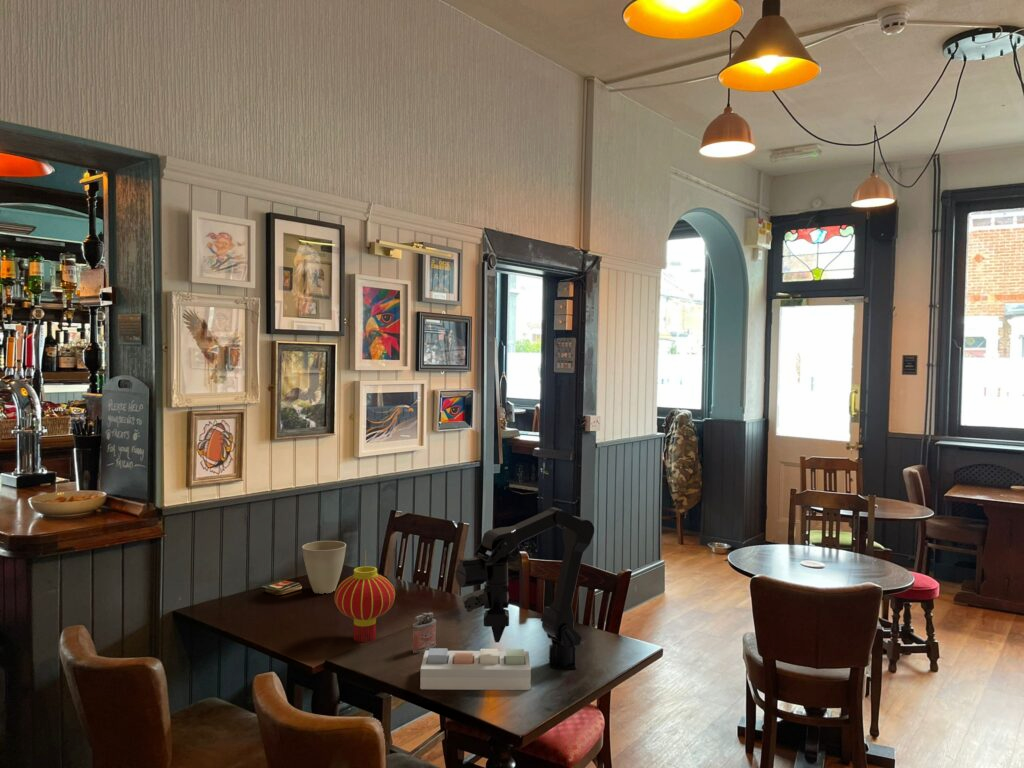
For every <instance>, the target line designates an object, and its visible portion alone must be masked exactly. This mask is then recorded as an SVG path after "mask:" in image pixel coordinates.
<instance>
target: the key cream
mask: <svg viewBox="0 0 1024 768" xmlns="http://www.w3.org/2000/svg"><path fill="white" fill-rule="evenodd" d="M479 651H480V664H498V651H499V648H480V650H479Z"/></svg>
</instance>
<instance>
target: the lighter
mask: <svg viewBox="0 0 1024 768" xmlns="http://www.w3.org/2000/svg"><path fill="white" fill-rule="evenodd" d="M433 617H434V613H433V612H428V613H427V612H423V613H422V614H420V615H417V616H415V618H414V619H415V620H414V622H416V623H413V624H412V629H413V630H412V634H413V635H412V636H413V637H412V638H413V639H412V649H411V650H412V651H413V652H414V653H420V654H422V653H421V652H423V653H425V650H429V649H430V648H434V647H435V648H436V647H437V643H436V638H437V637H436V627H437V625H436V624H437V619H435V618H433ZM414 653H413V654H414Z"/></svg>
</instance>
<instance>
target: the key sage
mask: <svg viewBox="0 0 1024 768" xmlns="http://www.w3.org/2000/svg"><path fill="white" fill-rule="evenodd" d="M505 651H506V665H524V651H525V648H506V649H505Z"/></svg>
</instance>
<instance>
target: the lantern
mask: <svg viewBox="0 0 1024 768" xmlns="http://www.w3.org/2000/svg"><path fill="white" fill-rule="evenodd" d="M364 554H365V556H364V557H365V559H364V561H365V565H364V566H358V567H355V568H354V569H353V573H352V575H350V576H348V577H346V578H345V579H344V580H342V581H341V583H340V584H339V585H337V586H338V587H337V588H336V589H335V593H334V603H335V605H336V607H337V609H338V610H339V611H340V613H341V614H343V615H344V616H346V617H348V618H350V619H353V640H354V641H356V642H359V643H366V642H372V641H374V640H375V639H376V637H377V635H376V634H377V618H378V617H381V616H383V615H384V614H386V613H387V612H389V610H390V609H391V608H392V607H393V605H394V602H395V599H396V598H395V597H396V590H395V586H394V585H393V584H392V583H391V582H390V581H389V579H388V578H386V577H385V576H383V575H381V574H379V573H378V568H377V567H375V566H367V551H365V553H364Z"/></svg>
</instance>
